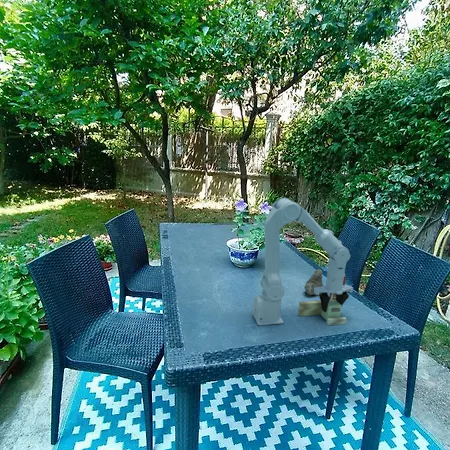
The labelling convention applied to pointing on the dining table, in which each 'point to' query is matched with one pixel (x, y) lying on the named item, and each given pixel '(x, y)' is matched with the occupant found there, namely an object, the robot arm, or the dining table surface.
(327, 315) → the cabinet block
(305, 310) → the wall board
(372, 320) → the dining table surface
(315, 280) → the mineral rock
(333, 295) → the soda can
